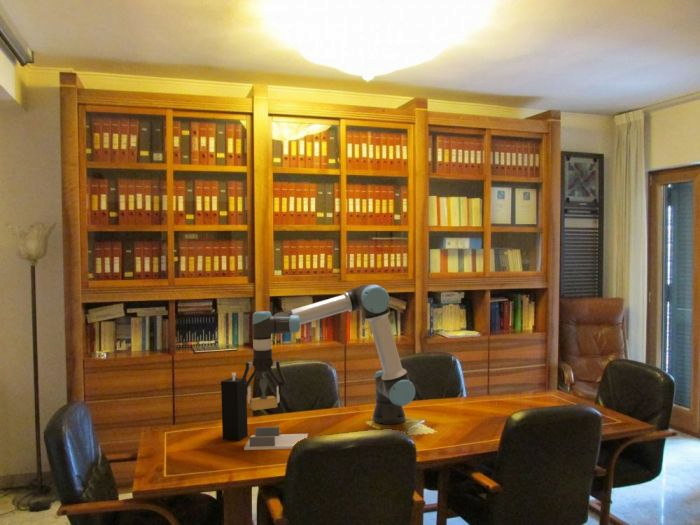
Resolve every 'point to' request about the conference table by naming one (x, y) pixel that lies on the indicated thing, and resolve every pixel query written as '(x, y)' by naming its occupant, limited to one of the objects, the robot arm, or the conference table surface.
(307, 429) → the conference table surface
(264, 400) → the rubber stamp
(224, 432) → the black square column
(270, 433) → the docking plate
